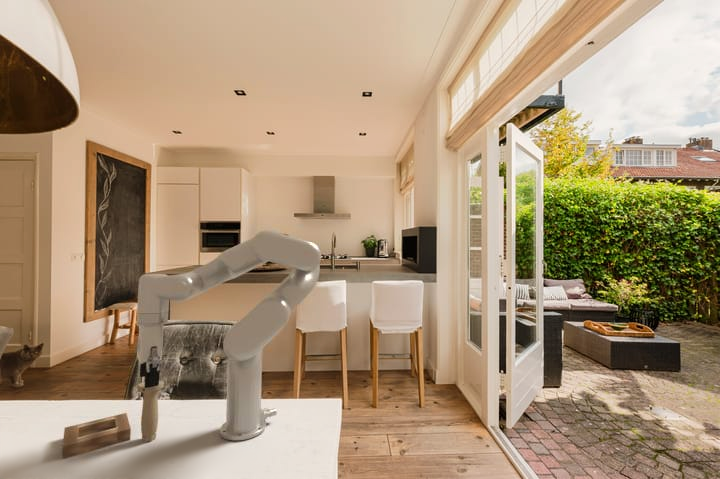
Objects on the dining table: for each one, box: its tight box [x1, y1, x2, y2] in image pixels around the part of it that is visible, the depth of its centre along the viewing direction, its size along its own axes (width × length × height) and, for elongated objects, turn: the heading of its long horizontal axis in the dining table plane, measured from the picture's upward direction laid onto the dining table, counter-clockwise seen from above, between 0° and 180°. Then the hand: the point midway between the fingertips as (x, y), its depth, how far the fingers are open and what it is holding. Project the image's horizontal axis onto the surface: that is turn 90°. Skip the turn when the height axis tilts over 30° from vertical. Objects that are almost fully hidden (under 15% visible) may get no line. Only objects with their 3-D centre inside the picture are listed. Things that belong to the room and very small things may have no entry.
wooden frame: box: [61, 412, 132, 460], centre depth 92 cm, size 14×12×3 cm
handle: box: [137, 380, 165, 443], centre depth 93 cm, size 5×6×15 cm
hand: (148, 381), depth 93 cm, fingers open, 9 cm apart
